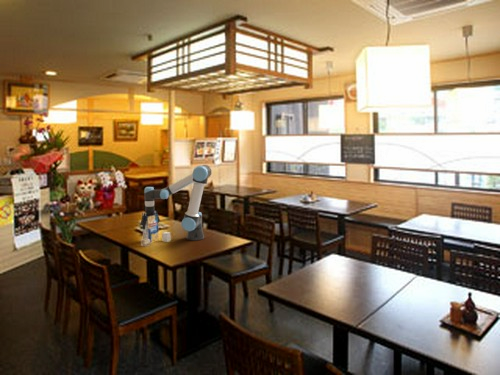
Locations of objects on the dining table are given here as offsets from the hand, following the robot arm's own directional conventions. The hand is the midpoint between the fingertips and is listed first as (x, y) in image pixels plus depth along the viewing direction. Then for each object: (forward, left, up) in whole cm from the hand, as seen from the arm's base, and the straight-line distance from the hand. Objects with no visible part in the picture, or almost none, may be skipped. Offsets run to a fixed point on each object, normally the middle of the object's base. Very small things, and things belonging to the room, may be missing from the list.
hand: (150, 231), depth 305 cm
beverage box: (0, 0, -8) cm, 8 cm away
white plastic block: (-10, -8, -8) cm, 15 cm away
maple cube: (-7, +11, -8) cm, 15 cm away
